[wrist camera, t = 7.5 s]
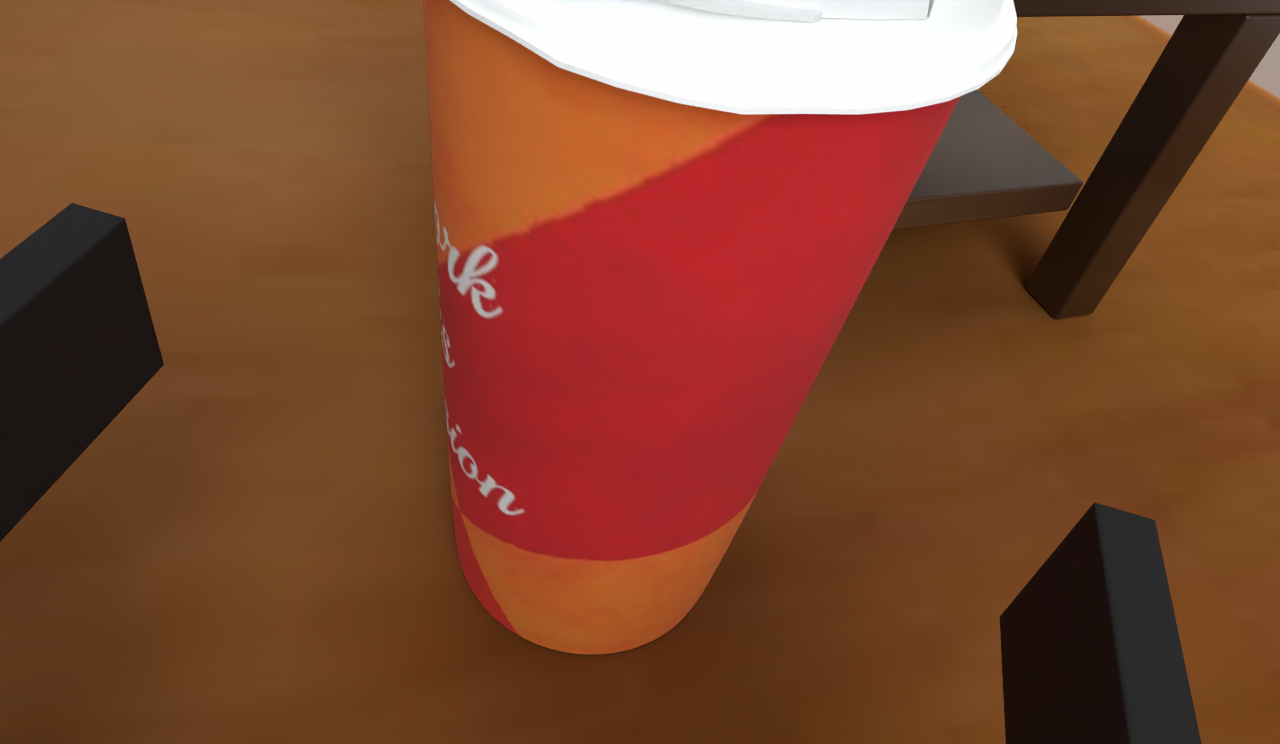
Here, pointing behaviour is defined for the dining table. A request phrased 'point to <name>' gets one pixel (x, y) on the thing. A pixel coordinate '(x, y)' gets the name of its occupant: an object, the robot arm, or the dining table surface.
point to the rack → (1131, 164)
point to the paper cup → (658, 268)
